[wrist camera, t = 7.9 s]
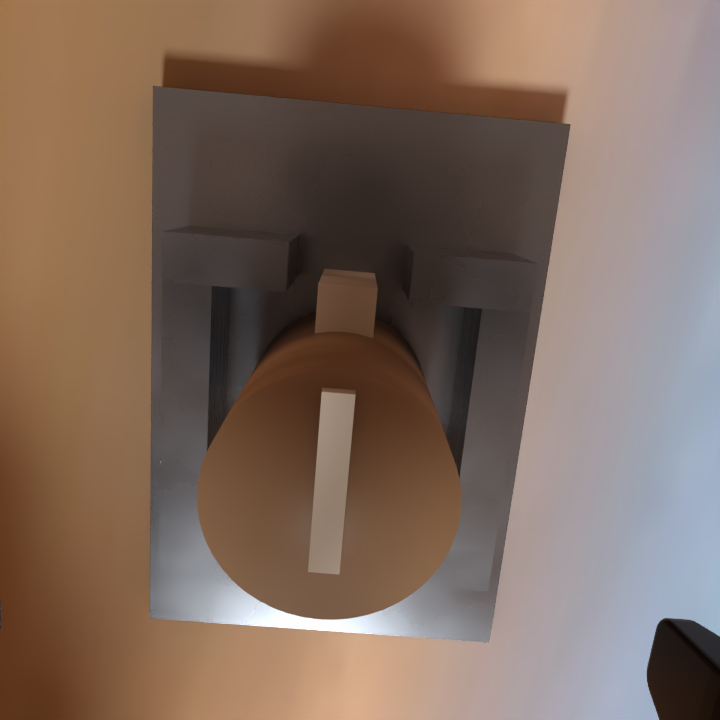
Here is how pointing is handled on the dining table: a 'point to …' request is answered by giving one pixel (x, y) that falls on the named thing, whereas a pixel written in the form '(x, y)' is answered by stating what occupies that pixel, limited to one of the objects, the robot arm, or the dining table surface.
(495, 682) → the dining table surface
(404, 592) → the knob
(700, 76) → the dining table surface
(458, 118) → the base plate
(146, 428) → the dining table surface
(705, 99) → the dining table surface
